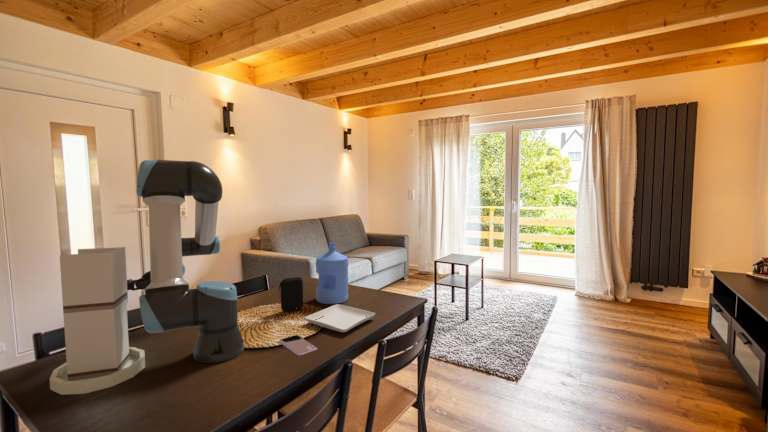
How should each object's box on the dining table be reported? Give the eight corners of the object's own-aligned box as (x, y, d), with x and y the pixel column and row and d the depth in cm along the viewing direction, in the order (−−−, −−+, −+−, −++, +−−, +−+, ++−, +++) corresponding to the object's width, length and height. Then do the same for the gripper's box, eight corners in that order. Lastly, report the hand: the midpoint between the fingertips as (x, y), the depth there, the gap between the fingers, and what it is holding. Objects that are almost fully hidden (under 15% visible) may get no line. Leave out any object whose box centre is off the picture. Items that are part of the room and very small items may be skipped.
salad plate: (376, 320, 146) (376, 311, 146) (344, 338, 128) (344, 329, 128) (337, 310, 157) (337, 303, 157) (302, 325, 139) (302, 317, 139)
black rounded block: (279, 313, 152) (278, 280, 151) (278, 311, 155) (277, 278, 154) (303, 309, 157) (303, 277, 156) (302, 307, 160) (301, 276, 158)
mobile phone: (297, 333, 129) (318, 347, 118) (297, 336, 129) (318, 350, 118) (277, 339, 124) (298, 354, 113) (277, 342, 124) (298, 357, 113)
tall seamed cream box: (130, 357, 110) (125, 247, 107) (117, 374, 100) (110, 253, 97) (86, 363, 106) (79, 249, 103) (67, 381, 96) (59, 255, 93)
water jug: (337, 293, 182) (336, 239, 180) (354, 300, 170) (354, 243, 168) (310, 299, 172) (309, 242, 170) (326, 307, 160) (326, 246, 158)
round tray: (160, 364, 107) (160, 355, 107) (77, 402, 88) (76, 391, 88) (119, 351, 116) (119, 342, 116) (36, 382, 97) (35, 372, 97)
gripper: (192, 288, 133) (162, 306, 112) (122, 289, 131) (78, 308, 110) (191, 268, 132) (161, 283, 111) (121, 269, 130) (76, 285, 109)
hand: (119, 296), depth 110 cm, fingers open, 13 cm apart
